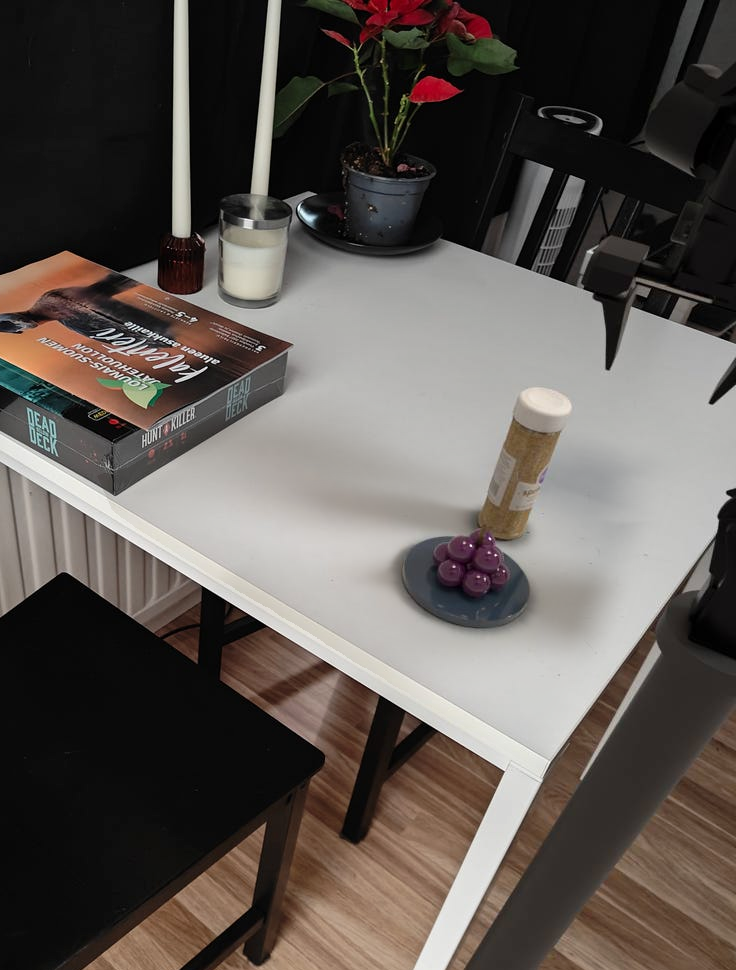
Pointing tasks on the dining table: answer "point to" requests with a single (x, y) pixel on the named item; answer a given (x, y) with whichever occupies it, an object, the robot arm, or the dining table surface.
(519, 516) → the sprinkles bottle
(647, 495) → the dining table surface
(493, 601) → the grapes
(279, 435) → the dining table surface
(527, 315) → the dining table surface
